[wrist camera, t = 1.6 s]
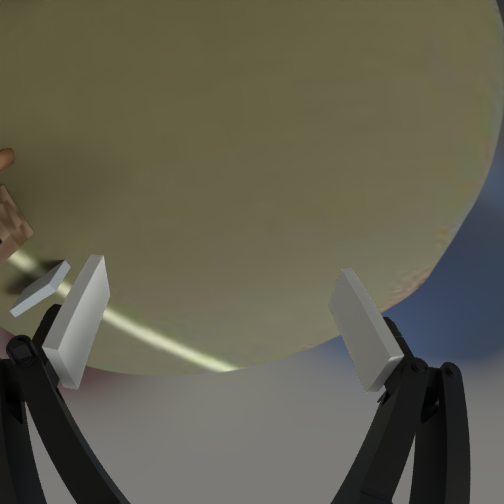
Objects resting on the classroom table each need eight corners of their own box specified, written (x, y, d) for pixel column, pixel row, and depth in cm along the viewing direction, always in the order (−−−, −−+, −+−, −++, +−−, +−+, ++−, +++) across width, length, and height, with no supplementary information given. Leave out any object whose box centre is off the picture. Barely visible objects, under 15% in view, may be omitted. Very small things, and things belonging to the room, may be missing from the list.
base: (24, 288, 43) (9, 310, 38) (65, 259, 41) (49, 283, 36) (29, 294, 44) (15, 317, 39) (70, 267, 42) (55, 291, 37)
